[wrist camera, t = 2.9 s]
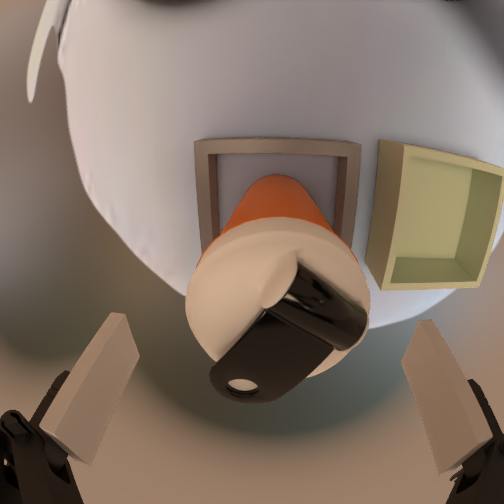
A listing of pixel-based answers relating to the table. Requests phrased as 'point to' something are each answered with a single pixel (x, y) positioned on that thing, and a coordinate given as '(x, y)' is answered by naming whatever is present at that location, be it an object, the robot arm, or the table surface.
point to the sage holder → (432, 218)
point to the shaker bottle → (276, 295)
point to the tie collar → (210, 147)
